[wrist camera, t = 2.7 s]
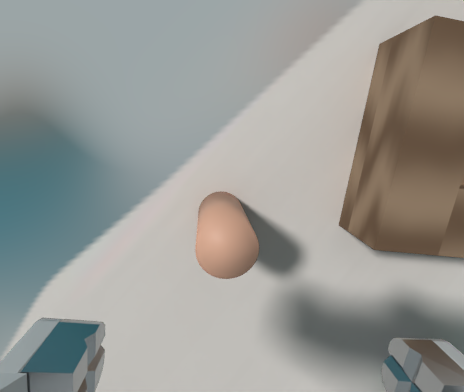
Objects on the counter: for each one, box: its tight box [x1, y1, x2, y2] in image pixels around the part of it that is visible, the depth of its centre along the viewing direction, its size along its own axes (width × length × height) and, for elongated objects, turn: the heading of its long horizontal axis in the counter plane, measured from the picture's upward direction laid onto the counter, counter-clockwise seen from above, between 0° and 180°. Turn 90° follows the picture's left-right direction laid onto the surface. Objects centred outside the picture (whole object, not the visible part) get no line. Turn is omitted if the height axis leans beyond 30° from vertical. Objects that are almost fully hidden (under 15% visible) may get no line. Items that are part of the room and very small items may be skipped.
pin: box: [196, 192, 259, 279], centre depth 18 cm, size 4×4×7 cm
